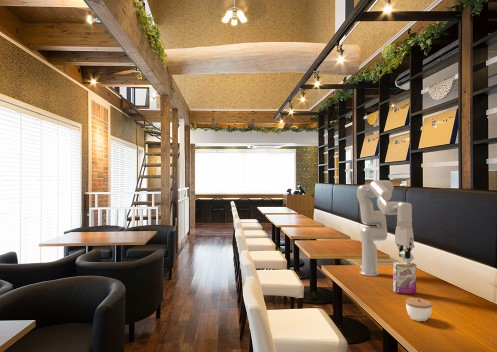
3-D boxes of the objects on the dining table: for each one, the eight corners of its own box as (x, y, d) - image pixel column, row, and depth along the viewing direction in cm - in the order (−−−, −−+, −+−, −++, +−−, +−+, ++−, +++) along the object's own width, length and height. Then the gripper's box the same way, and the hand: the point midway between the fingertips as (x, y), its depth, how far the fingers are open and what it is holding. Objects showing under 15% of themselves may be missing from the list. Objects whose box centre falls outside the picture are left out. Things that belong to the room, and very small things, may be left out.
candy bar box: (395, 293, 193) (395, 264, 193) (392, 290, 198) (392, 261, 198) (416, 294, 192) (416, 264, 192) (413, 291, 197) (413, 262, 197)
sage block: (404, 261, 197) (399, 252, 197) (408, 256, 198) (403, 248, 197) (409, 262, 194) (404, 254, 193) (414, 258, 195) (409, 249, 194)
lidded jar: (409, 312, 165) (409, 292, 165) (434, 318, 158) (434, 297, 158) (402, 319, 157) (402, 298, 157) (429, 325, 150) (428, 303, 150)
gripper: (388, 223, 202) (389, 255, 202) (409, 226, 187) (410, 261, 186) (399, 223, 205) (399, 254, 204) (421, 226, 189) (421, 260, 188)
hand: (404, 257), depth 195 cm, fingers closed on sage block, 3 cm apart
